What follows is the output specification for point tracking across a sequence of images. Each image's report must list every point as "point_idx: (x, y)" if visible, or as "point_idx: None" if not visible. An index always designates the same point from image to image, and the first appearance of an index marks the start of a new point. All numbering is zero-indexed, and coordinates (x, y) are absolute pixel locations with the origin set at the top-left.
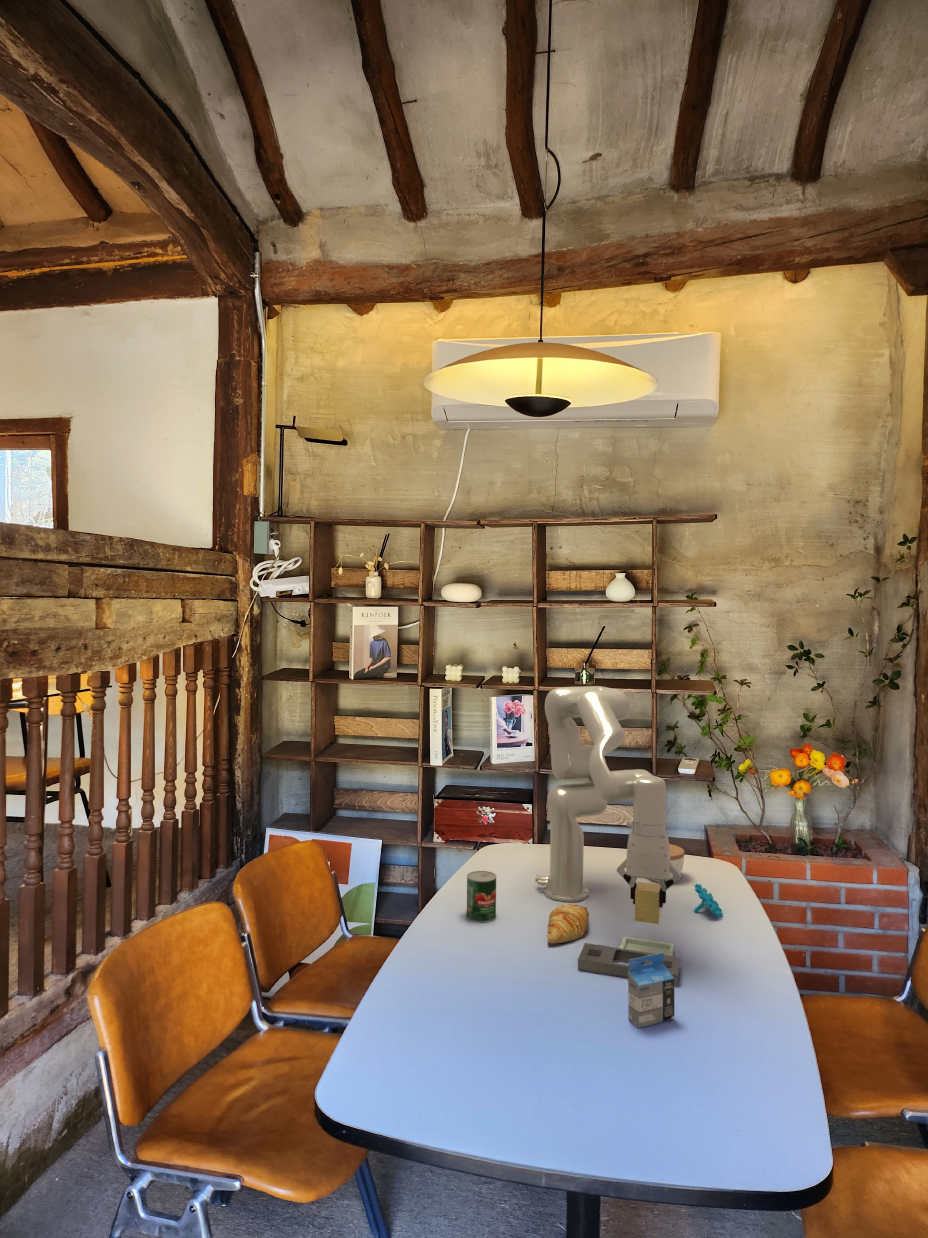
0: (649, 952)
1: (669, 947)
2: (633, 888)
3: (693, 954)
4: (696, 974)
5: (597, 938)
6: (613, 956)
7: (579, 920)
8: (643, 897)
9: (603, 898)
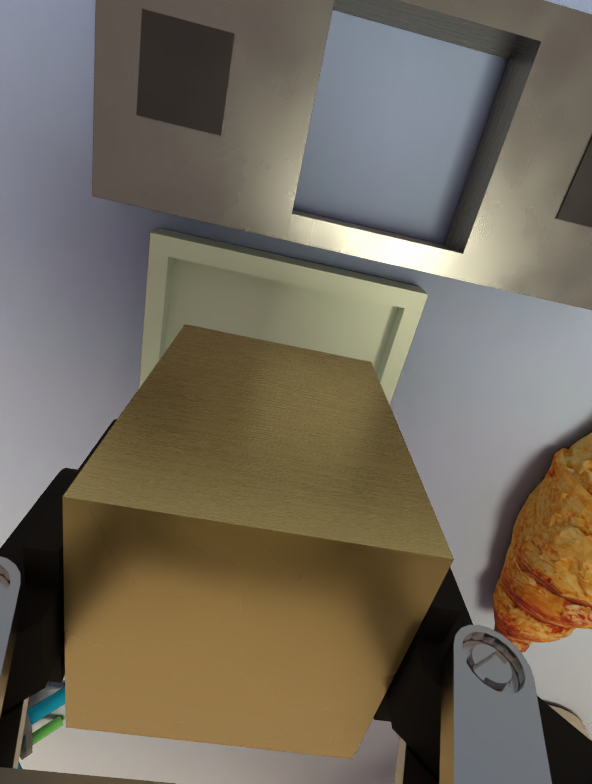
0: (264, 332)
1: None
2: (455, 607)
3: (57, 365)
4: (24, 130)
5: (479, 459)
6: (504, 145)
7: None
8: (317, 470)
9: (384, 732)
